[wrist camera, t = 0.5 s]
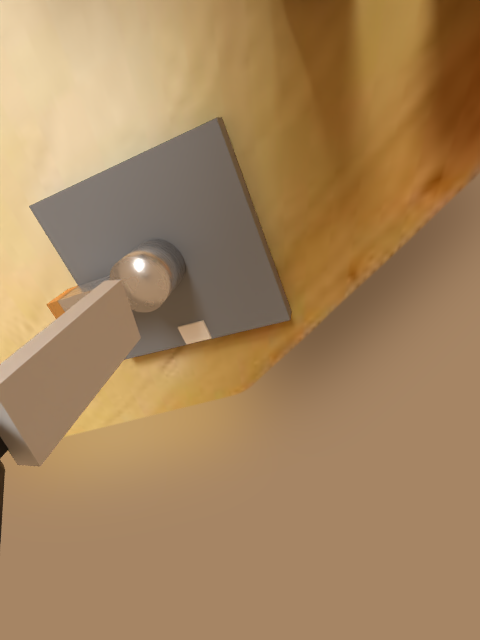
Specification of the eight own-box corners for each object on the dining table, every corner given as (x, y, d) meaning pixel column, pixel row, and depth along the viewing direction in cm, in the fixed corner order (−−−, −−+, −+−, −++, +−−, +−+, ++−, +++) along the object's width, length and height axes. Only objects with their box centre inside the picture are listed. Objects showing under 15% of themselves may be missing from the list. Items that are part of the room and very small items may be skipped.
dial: (170, 231, 39) (148, 250, 34) (193, 280, 42) (175, 304, 37) (66, 270, 44) (33, 290, 39) (92, 311, 47) (64, 336, 42)
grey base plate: (40, 202, 43) (27, 206, 41) (221, 117, 35) (215, 117, 33) (130, 351, 52) (123, 360, 50) (291, 311, 44) (290, 321, 42)
